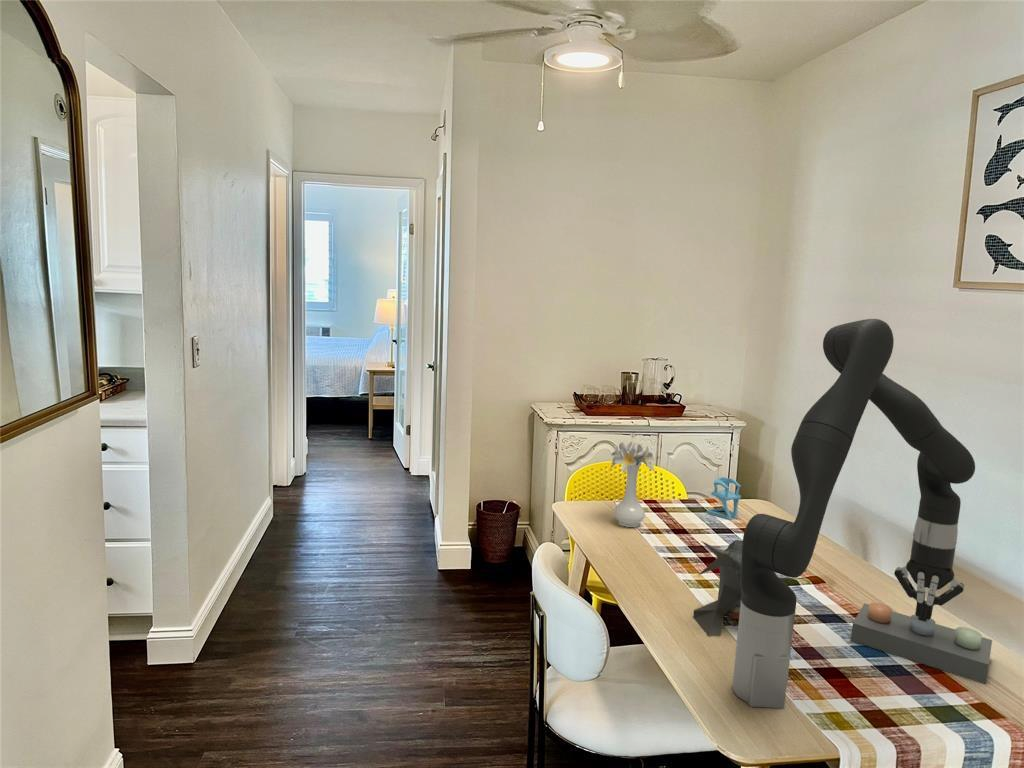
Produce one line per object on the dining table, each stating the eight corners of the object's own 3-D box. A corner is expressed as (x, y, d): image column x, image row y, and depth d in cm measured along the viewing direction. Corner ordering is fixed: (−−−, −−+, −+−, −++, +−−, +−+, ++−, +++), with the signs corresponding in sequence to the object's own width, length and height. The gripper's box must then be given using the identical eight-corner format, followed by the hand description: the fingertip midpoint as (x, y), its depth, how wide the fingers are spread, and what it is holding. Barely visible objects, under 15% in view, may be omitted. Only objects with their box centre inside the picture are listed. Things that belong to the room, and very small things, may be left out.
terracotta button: (892, 617, 151) (893, 607, 151) (888, 625, 148) (890, 614, 148) (869, 611, 154) (871, 600, 154) (865, 618, 150) (867, 607, 150)
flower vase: (643, 514, 223) (649, 437, 219) (653, 535, 204) (660, 452, 200) (602, 511, 223) (607, 435, 219) (608, 533, 205) (614, 449, 201)
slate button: (935, 629, 147) (936, 619, 146) (932, 638, 143) (934, 627, 143) (911, 622, 149) (912, 612, 149) (908, 630, 146) (909, 620, 145)
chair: (725, 521, 219) (728, 484, 217) (705, 512, 226) (709, 476, 225) (742, 518, 223) (746, 481, 221) (723, 509, 230) (726, 474, 228)
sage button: (980, 643, 142) (982, 632, 142) (979, 652, 139) (981, 640, 138) (955, 635, 145) (956, 624, 144) (953, 644, 141) (954, 633, 141)
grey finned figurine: (776, 633, 151) (785, 554, 148) (708, 636, 148) (716, 555, 145) (745, 602, 165) (752, 529, 162) (682, 604, 162) (689, 530, 159)
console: (989, 658, 145) (992, 640, 144) (985, 683, 135) (988, 664, 134) (861, 619, 159) (864, 603, 158) (850, 640, 149) (852, 623, 149)
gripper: (974, 543, 142) (961, 623, 145) (900, 527, 150) (890, 602, 153) (971, 554, 136) (958, 637, 139) (895, 536, 144) (884, 615, 147)
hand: (922, 619), depth 146 cm, fingers closed
